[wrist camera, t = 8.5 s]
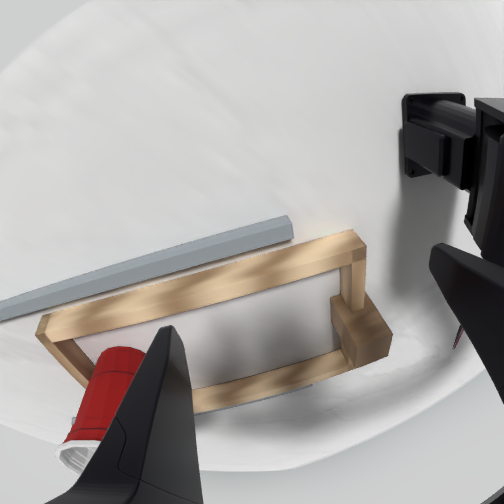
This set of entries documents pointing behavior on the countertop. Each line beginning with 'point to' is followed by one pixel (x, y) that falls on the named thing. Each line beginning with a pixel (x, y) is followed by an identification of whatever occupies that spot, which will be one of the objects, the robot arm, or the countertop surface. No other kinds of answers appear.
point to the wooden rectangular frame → (232, 286)
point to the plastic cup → (99, 405)
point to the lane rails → (154, 271)
